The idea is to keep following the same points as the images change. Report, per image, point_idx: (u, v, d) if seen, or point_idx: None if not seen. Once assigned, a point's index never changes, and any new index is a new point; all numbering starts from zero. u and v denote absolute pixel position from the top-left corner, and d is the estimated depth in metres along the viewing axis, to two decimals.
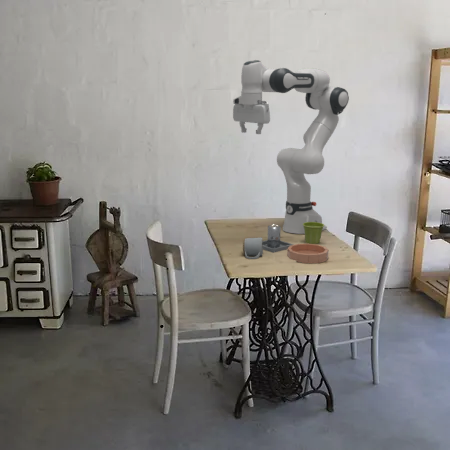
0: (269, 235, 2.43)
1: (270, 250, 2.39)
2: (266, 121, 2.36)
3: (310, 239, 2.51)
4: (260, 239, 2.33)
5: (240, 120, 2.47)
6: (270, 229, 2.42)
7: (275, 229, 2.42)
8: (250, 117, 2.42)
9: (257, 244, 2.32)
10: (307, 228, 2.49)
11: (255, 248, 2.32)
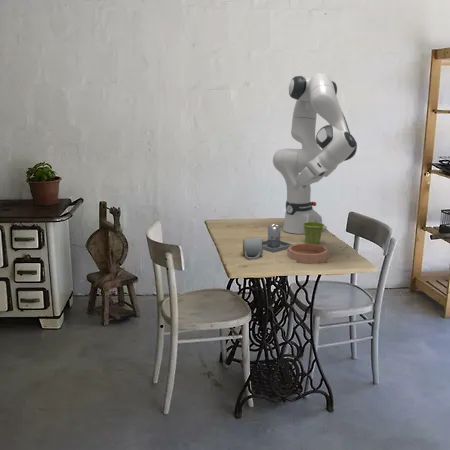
0: (269, 235, 2.43)
1: (270, 250, 2.39)
2: None
3: (310, 239, 2.51)
4: (260, 239, 2.32)
5: (305, 184, 2.28)
6: (270, 229, 2.42)
7: (275, 229, 2.42)
8: (314, 180, 2.33)
9: (257, 244, 2.31)
10: (307, 228, 2.49)
11: (255, 248, 2.31)
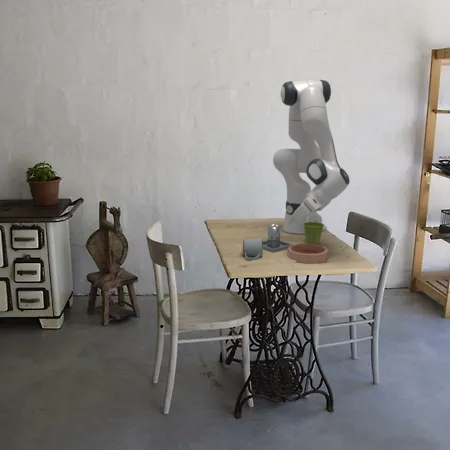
0: (269, 235, 2.43)
1: (270, 250, 2.39)
2: None
3: (310, 239, 2.51)
4: (260, 240, 2.32)
5: None
6: (270, 229, 2.42)
7: (275, 229, 2.42)
8: None
9: (257, 245, 2.31)
10: (307, 228, 2.49)
11: (255, 249, 2.31)
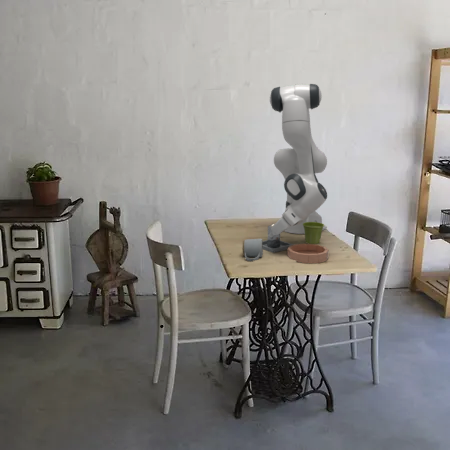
0: None
1: (270, 250, 2.39)
2: None
3: (310, 239, 2.51)
4: (260, 240, 2.31)
5: None
6: (270, 229, 2.42)
7: None
8: None
9: (257, 245, 2.30)
10: (307, 228, 2.49)
11: (255, 249, 2.30)
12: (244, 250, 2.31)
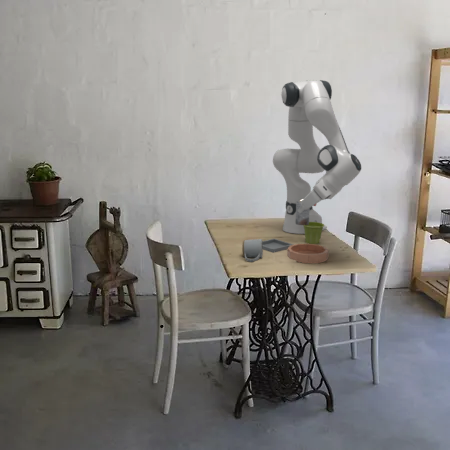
0: None
1: (270, 250, 2.39)
2: None
3: (310, 239, 2.51)
4: (260, 241, 2.31)
5: None
6: (299, 204, 2.28)
7: None
8: None
9: (257, 246, 2.29)
10: (307, 228, 2.49)
11: (255, 250, 2.29)
12: (244, 250, 2.30)
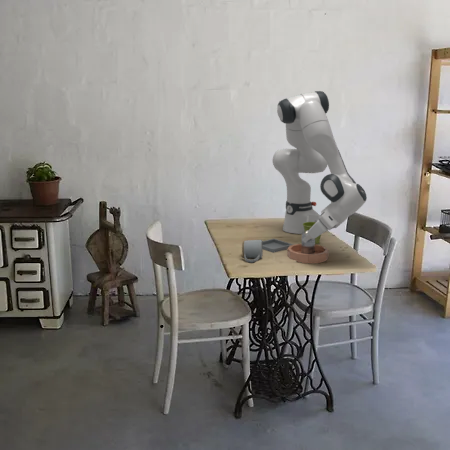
0: (303, 242, 2.31)
1: (270, 250, 2.39)
2: None
3: None
4: (260, 241, 2.30)
5: None
6: (304, 236, 2.30)
7: None
8: None
9: (256, 246, 2.28)
10: (307, 228, 2.49)
11: (254, 250, 2.28)
12: (244, 251, 2.29)
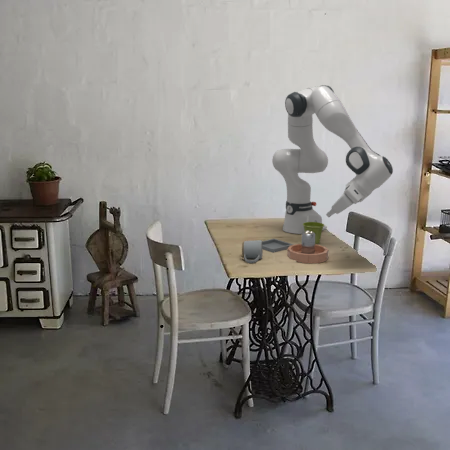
0: (303, 242, 2.31)
1: (270, 250, 2.39)
2: None
3: None
4: (259, 242, 2.29)
5: None
6: (304, 236, 2.30)
7: (310, 236, 2.29)
8: None
9: (256, 247, 2.28)
10: (307, 228, 2.49)
11: (254, 251, 2.28)
12: (243, 252, 2.29)
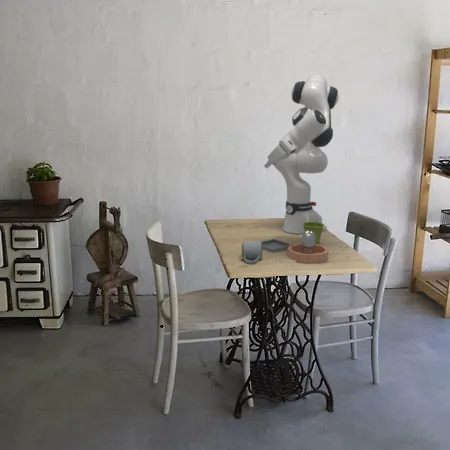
0: (303, 242, 2.31)
1: (270, 250, 2.39)
2: None
3: None
4: (259, 242, 2.28)
5: (276, 161, 2.33)
6: (304, 236, 2.30)
7: (310, 236, 2.29)
8: (284, 157, 2.38)
9: (256, 248, 2.27)
10: (307, 228, 2.49)
11: (254, 251, 2.27)
12: (243, 252, 2.28)
